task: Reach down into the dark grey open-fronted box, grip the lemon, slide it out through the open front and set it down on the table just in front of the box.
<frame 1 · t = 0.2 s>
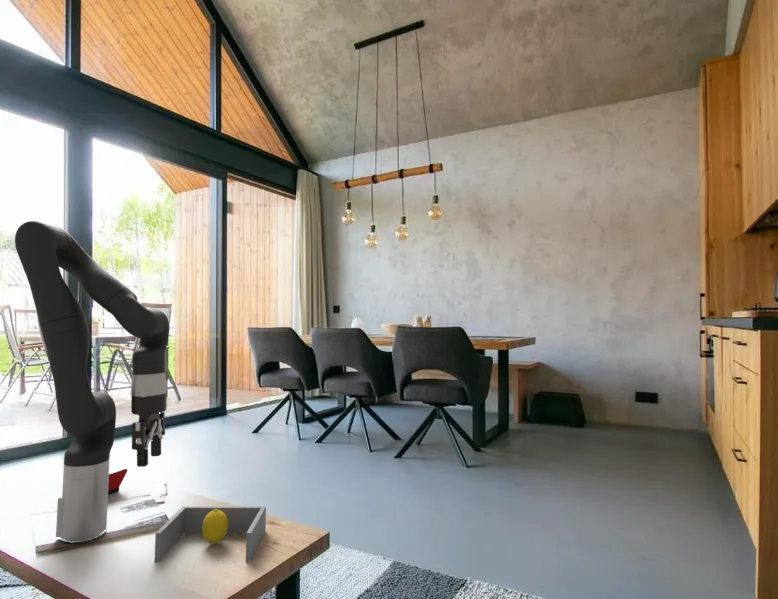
hand: (149, 460, 115), 17 cm above the table, tool pointing down, fingers open, 8 cm apart
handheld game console: (95, 499, 138), on the table
lemon: (214, 545, 110), on the table
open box: (213, 545, 110), on the table
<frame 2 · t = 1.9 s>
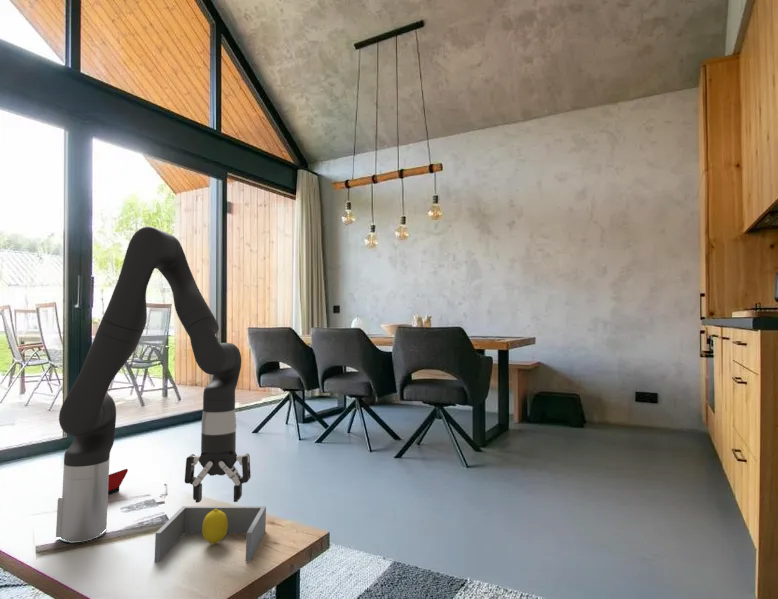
hand: (217, 501, 111), 10 cm above the table, tool pointing down, fingers open, 8 cm apart
nothing on the table moved.
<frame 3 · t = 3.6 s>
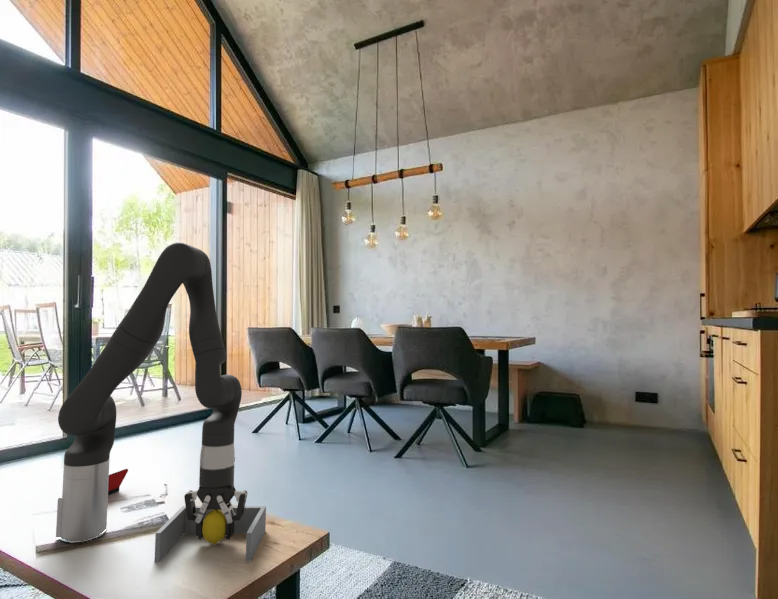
hand: (214, 537, 110), 2 cm above the table, tool pointing down, fingers closed on lemon, 5 cm apart
lemon: (214, 545, 110), on the table, touching gripper
everything else where it was.
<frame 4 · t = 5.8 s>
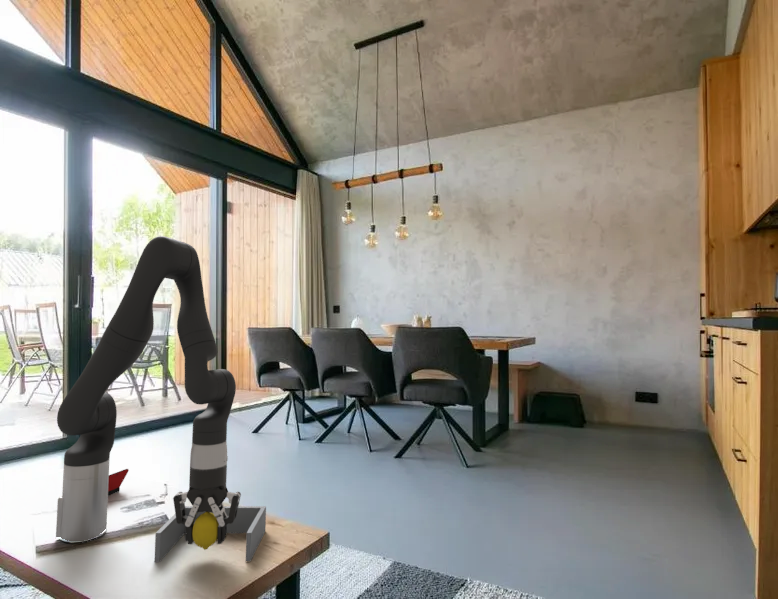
hand: (205, 542, 104), 3 cm above the table, tool pointing down, fingers closed on lemon, 5 cm apart
lemon: (205, 550, 104), point 2 cm above the table, touching gripper
everything else where it was.
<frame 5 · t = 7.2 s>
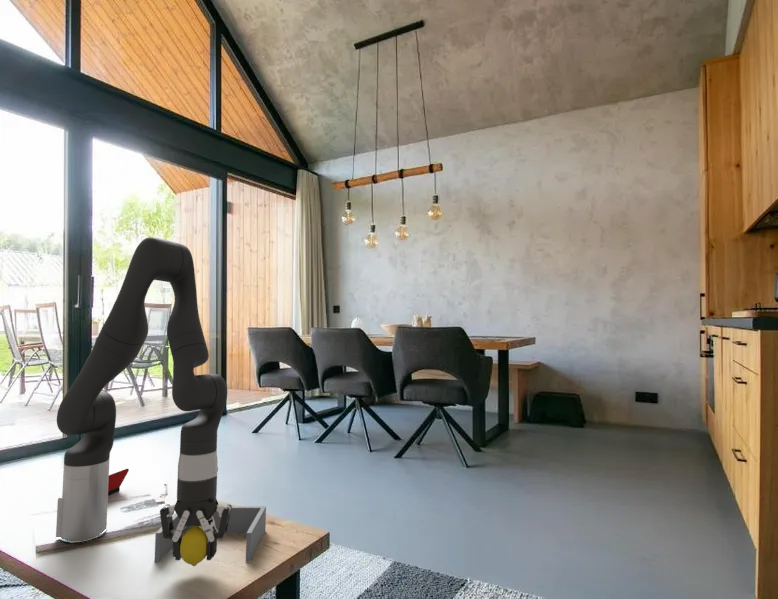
hand: (194, 558, 98), 3 cm above the table, tool pointing down, fingers closed on lemon, 5 cm apart
lemon: (194, 566, 97), point 1 cm above the table, touching gripper
everything else where it was.
when the fingers open (2 cm above the table, at t = 8.2 s): lemon stays where it is, on the table.
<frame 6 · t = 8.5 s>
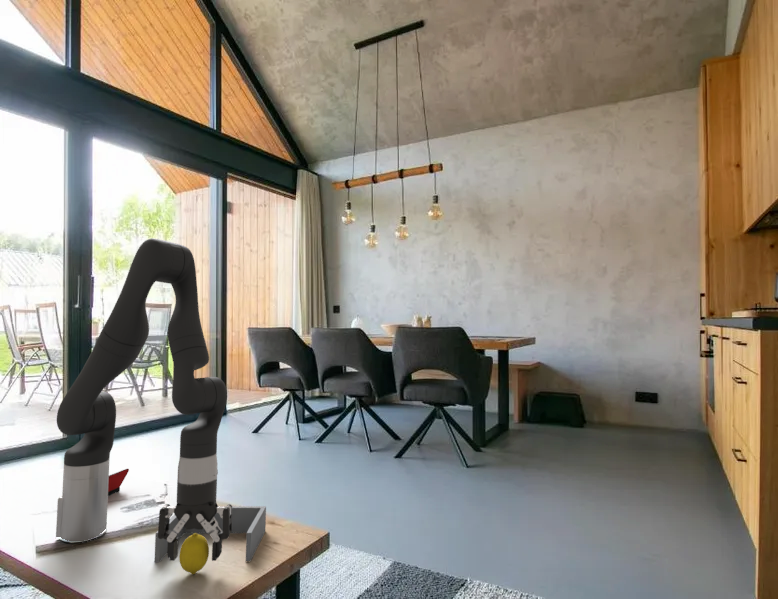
hand: (194, 558, 97), 3 cm above the table, tool pointing down, fingers open, 8 cm apart
lemon: (193, 575, 97), on the table
everything else where it was.
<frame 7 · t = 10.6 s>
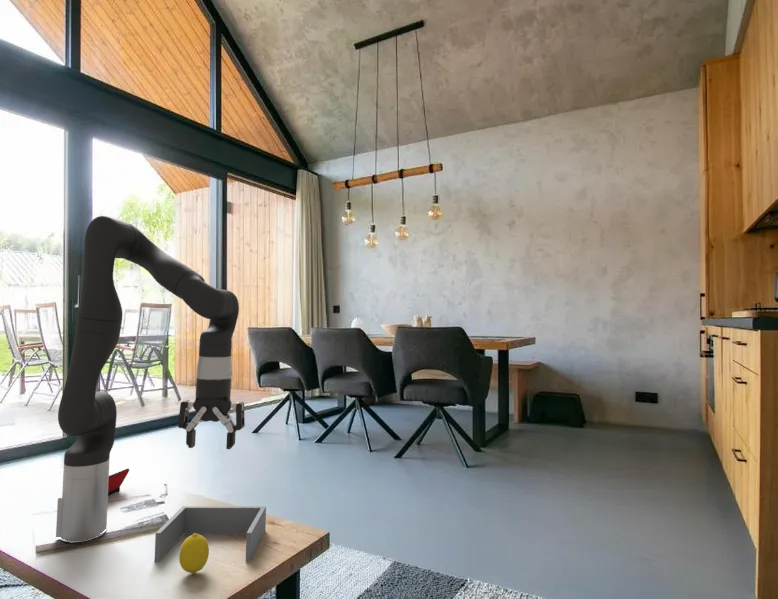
hand: (210, 447, 110), 22 cm above the table, tool pointing down, fingers open, 8 cm apart
nothing on the table moved.
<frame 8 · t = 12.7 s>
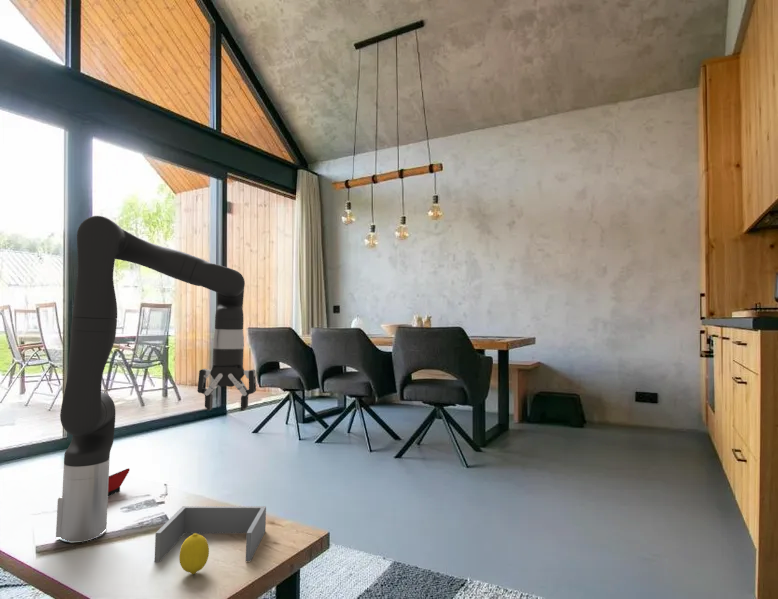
hand: (226, 410, 125), 28 cm above the table, tool pointing down, fingers open, 8 cm apart
nothing on the table moved.
at the end: lemon inside the target area on the table beside the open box (2.1 cm from its centre), on the table; the gripper is holding nothing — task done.
